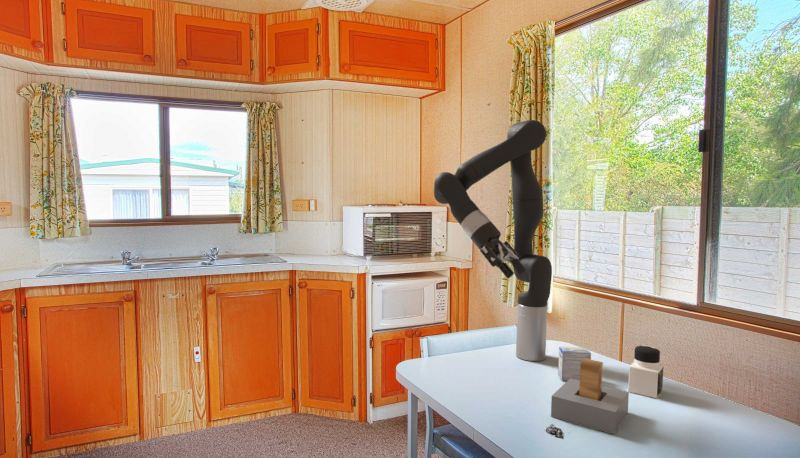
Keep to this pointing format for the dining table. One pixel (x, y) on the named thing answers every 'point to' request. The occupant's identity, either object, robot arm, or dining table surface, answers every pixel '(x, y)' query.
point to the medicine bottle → (646, 372)
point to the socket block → (590, 407)
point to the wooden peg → (591, 379)
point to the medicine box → (571, 362)
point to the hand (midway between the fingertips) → (517, 274)
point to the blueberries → (554, 431)
